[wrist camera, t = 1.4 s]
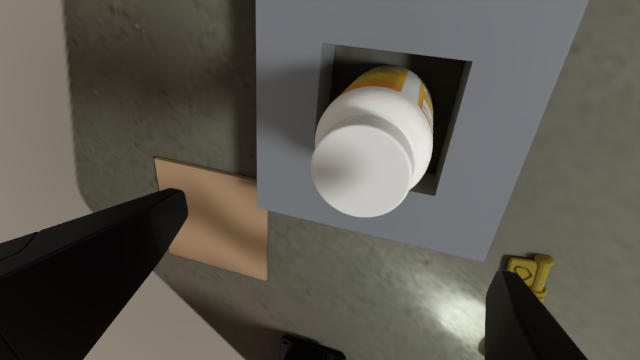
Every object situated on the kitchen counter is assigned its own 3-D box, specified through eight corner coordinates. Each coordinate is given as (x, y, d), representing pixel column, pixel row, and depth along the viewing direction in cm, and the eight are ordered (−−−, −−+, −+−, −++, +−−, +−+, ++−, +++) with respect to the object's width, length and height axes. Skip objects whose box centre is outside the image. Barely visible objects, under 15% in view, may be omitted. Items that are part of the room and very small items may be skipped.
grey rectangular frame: (478, 234, 23) (483, 262, 21) (274, 188, 27) (257, 207, 24) (573, -20, 16) (598, -25, 14) (278, -41, 20) (255, -48, 17)
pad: (267, 277, 31) (265, 280, 31) (172, 250, 33) (169, 252, 33) (268, 181, 26) (266, 183, 26) (157, 156, 29) (154, 158, 28)
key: (509, 258, 23) (599, 270, 21) (506, 246, 24) (591, 257, 22) (480, 373, 28) (550, 388, 27) (479, 359, 29) (546, 373, 28)
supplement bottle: (329, 116, 23) (269, 180, 14) (380, 44, 20) (341, 73, 12) (394, 165, 23) (371, 255, 15) (452, 101, 20) (466, 168, 12)
